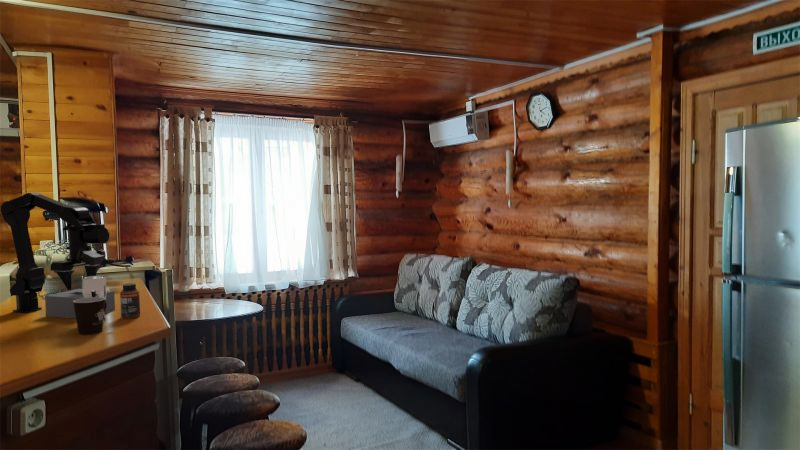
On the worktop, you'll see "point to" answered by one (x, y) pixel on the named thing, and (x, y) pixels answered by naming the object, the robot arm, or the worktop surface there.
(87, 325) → the coffee mug
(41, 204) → the robot arm
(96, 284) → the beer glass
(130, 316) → the supplement bottle
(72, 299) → the coin box
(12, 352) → the worktop surface
